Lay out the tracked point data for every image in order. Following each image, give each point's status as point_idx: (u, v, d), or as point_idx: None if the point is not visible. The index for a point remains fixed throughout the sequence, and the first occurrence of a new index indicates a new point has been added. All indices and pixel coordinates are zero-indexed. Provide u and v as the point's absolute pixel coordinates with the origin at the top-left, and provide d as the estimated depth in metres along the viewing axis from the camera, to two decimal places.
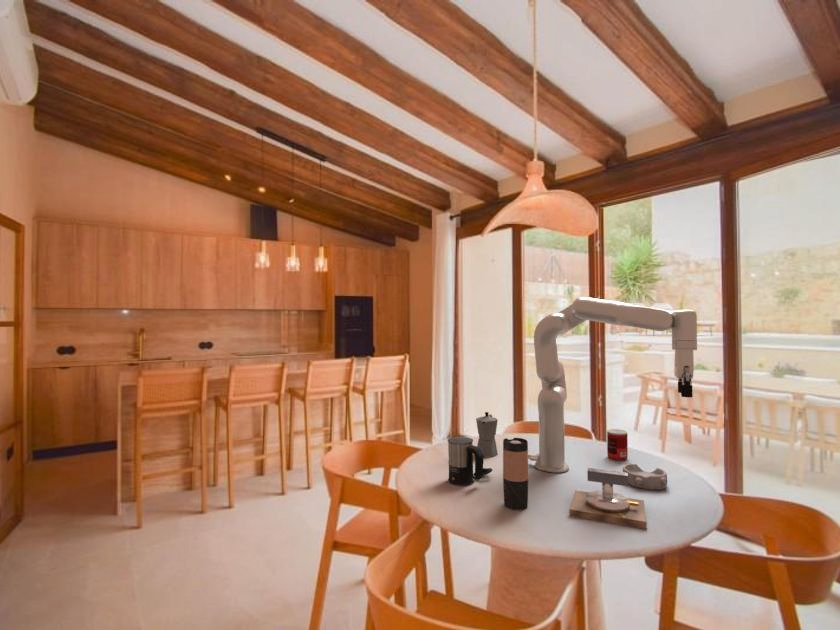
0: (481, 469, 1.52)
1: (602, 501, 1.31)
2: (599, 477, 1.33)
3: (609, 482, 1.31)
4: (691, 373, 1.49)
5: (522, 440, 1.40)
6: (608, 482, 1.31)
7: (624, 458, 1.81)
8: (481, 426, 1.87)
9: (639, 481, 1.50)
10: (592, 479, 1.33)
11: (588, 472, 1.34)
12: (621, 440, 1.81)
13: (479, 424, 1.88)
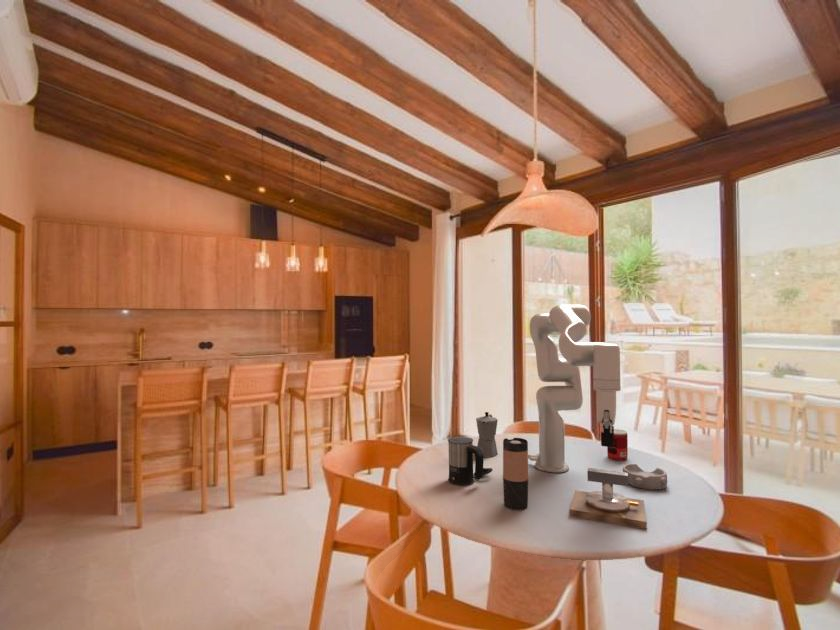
0: (481, 469, 1.52)
1: (602, 501, 1.31)
2: (599, 477, 1.33)
3: (609, 482, 1.31)
4: (612, 418, 1.28)
5: (522, 440, 1.40)
6: (608, 482, 1.31)
7: (624, 458, 1.81)
8: (481, 426, 1.87)
9: (639, 481, 1.50)
10: (592, 479, 1.33)
11: (588, 472, 1.34)
12: (621, 440, 1.81)
13: (479, 424, 1.88)
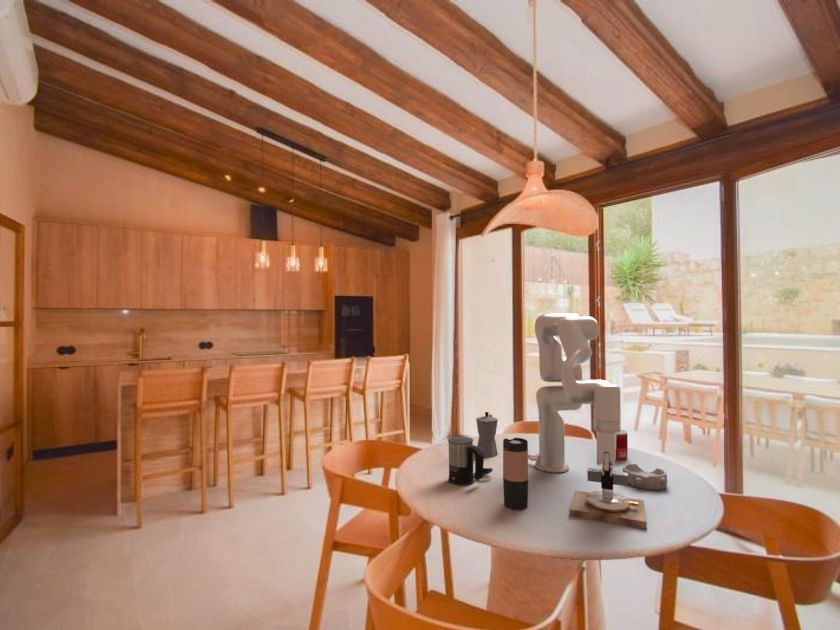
0: (481, 469, 1.52)
1: (602, 501, 1.31)
2: (599, 477, 1.33)
3: None
4: (612, 460, 1.28)
5: (522, 440, 1.40)
6: None
7: (624, 458, 1.81)
8: (481, 426, 1.88)
9: (639, 481, 1.50)
10: (592, 479, 1.33)
11: (588, 472, 1.34)
12: (621, 440, 1.81)
13: (479, 424, 1.88)
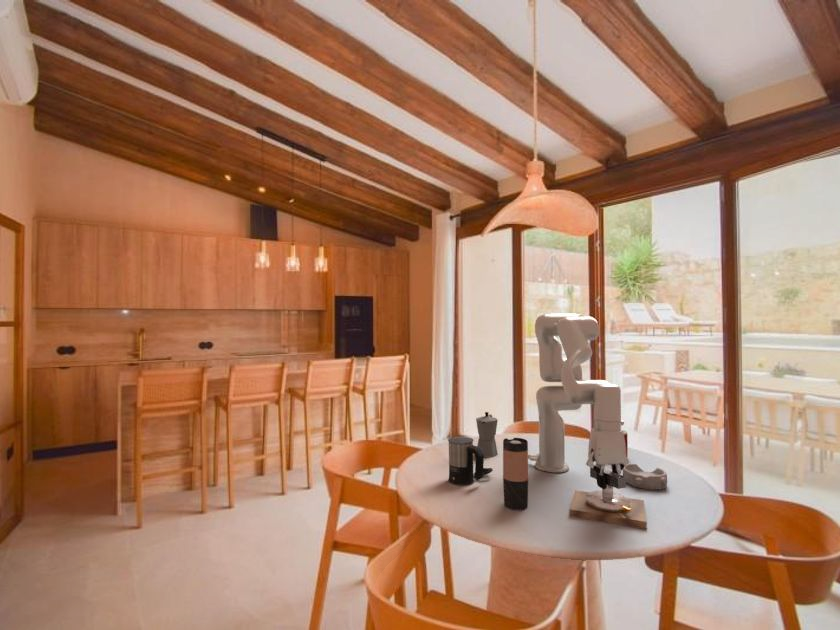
0: (481, 469, 1.52)
1: (596, 498, 1.33)
2: None
3: None
4: (595, 458, 1.31)
5: (522, 440, 1.40)
6: None
7: None
8: (481, 426, 1.87)
9: (639, 481, 1.50)
10: (593, 476, 1.36)
11: (590, 468, 1.37)
12: None
13: (479, 424, 1.88)
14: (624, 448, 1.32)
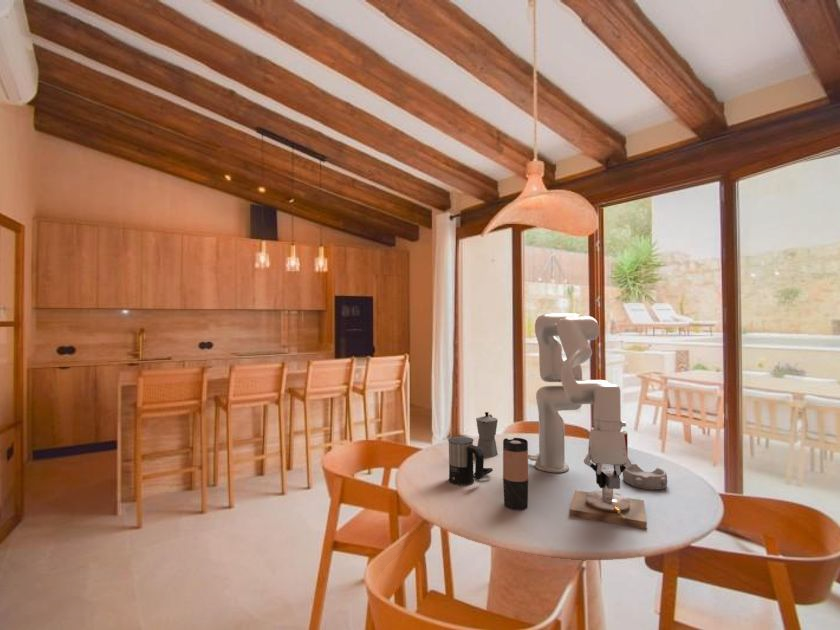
0: (481, 469, 1.52)
1: (595, 496, 1.34)
2: None
3: (603, 481, 1.32)
4: (591, 456, 1.32)
5: (522, 440, 1.40)
6: None
7: None
8: (481, 426, 1.87)
9: (639, 481, 1.50)
10: None
11: None
12: None
13: (479, 424, 1.88)
14: (624, 449, 1.30)
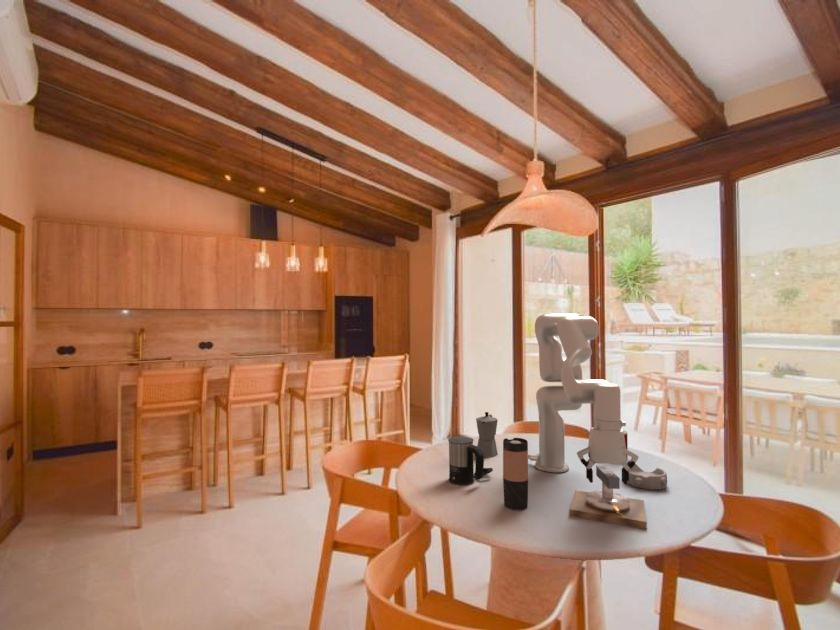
0: (481, 469, 1.53)
1: (595, 496, 1.34)
2: (599, 473, 1.35)
3: (602, 481, 1.32)
4: (590, 455, 1.33)
5: (522, 440, 1.40)
6: (602, 480, 1.33)
7: None
8: (481, 426, 1.87)
9: (639, 481, 1.50)
10: (597, 475, 1.37)
11: (596, 467, 1.38)
12: None
13: (479, 424, 1.88)
14: (623, 449, 1.30)
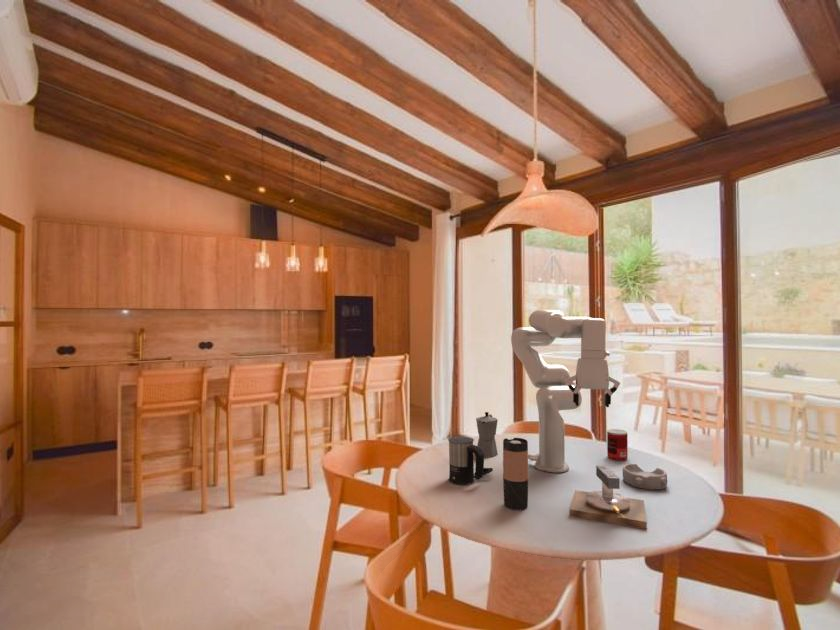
0: (481, 469, 1.53)
1: (595, 496, 1.34)
2: (599, 473, 1.35)
3: (602, 481, 1.32)
4: (577, 382, 1.49)
5: (522, 440, 1.40)
6: (602, 480, 1.33)
7: (624, 458, 1.81)
8: (481, 426, 1.87)
9: (639, 481, 1.50)
10: (597, 475, 1.37)
11: (596, 467, 1.38)
12: (621, 440, 1.81)
13: (479, 424, 1.88)
14: (606, 375, 1.46)
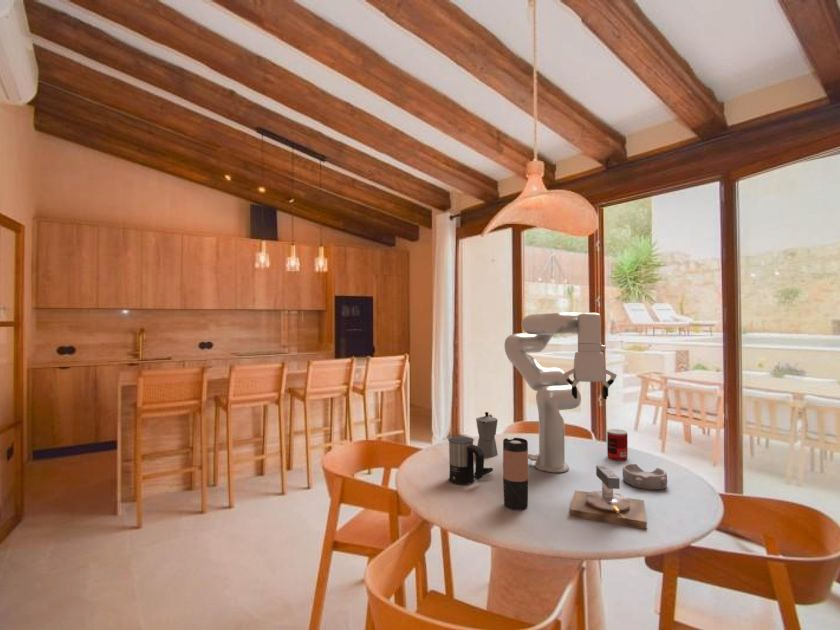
0: (482, 468, 1.53)
1: (595, 496, 1.34)
2: (599, 473, 1.35)
3: (602, 481, 1.32)
4: (575, 375, 1.53)
5: (522, 440, 1.40)
6: (602, 480, 1.33)
7: (624, 458, 1.81)
8: (481, 426, 1.87)
9: (639, 481, 1.50)
10: (597, 475, 1.37)
11: (596, 467, 1.38)
12: (621, 440, 1.81)
13: (479, 424, 1.88)
14: (603, 368, 1.50)
